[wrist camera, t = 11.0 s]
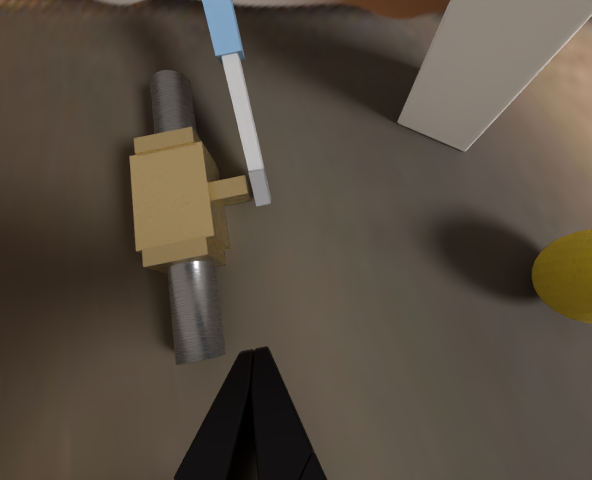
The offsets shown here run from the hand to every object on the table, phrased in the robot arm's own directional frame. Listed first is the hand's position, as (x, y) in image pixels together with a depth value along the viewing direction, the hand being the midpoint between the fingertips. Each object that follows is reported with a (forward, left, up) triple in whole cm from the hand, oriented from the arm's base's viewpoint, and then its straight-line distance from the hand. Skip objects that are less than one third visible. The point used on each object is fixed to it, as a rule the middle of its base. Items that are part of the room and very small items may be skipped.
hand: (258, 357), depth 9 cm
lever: (+8, +6, -12) cm, 15 cm away
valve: (+6, +10, -14) cm, 18 cm away
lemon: (+11, -15, -14) cm, 23 cm away
